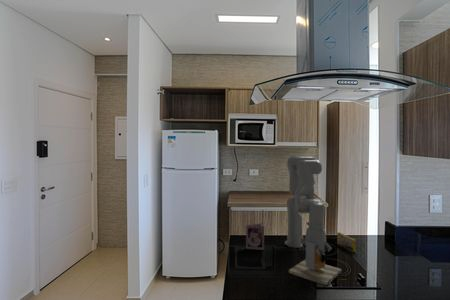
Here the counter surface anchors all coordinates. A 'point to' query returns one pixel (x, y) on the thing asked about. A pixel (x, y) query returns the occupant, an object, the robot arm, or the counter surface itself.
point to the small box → (313, 256)
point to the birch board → (315, 273)
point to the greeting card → (255, 236)
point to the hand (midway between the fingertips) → (315, 259)
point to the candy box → (346, 242)
